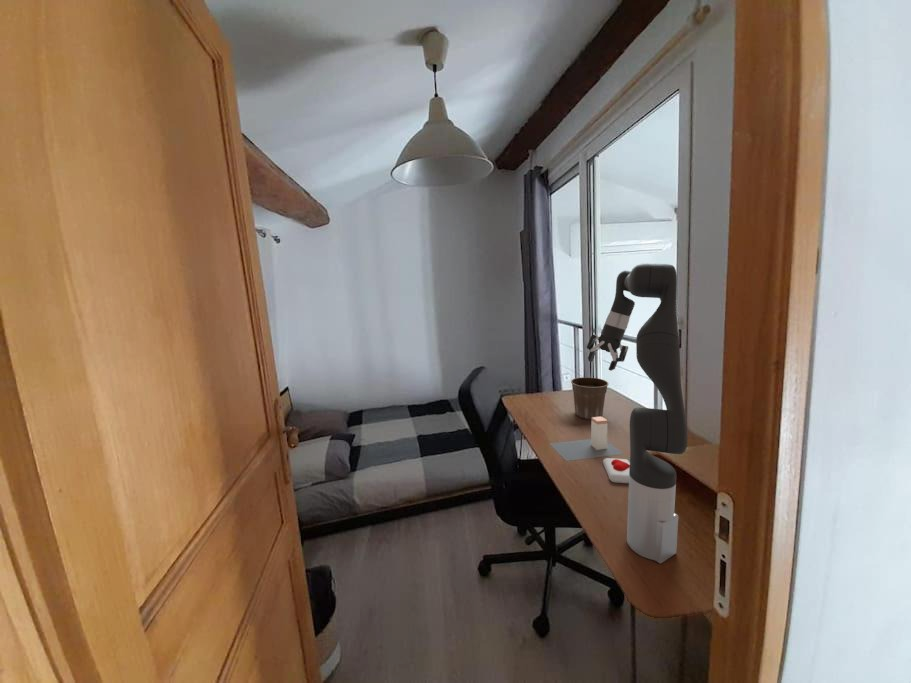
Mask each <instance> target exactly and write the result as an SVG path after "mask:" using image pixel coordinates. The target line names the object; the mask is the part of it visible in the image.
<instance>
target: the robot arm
mask: <svg viewBox="0 0 911 683" xmlns="http://www.w3.org/2000/svg"><path fill="white" fill-rule="evenodd" d="M677 276H678V275H677V269H676V267H675V266H674V265H672V264H668V263H639V264H636V265H635V266H634V267H633V268H632V269H631V271H630V270H626V269H624V270H622V271H620V272H619V274H618V275H617V277H616V283H615V295H614V299H613V300H614V301H613V303H612V305H611V308H610V311H609V313H608V314H607V317H606V319H605V321H604V322H605V323H604V325H603V328H602V330H601V333H600V336H598V335H597V334H591V336H590V338H589V341H588V343H587V345H586V349H587V350H589V354H588V357H587V360H588V362H590V363H592V362H593V361H594V359H595V356H596V353H597V351H599V350H602V351H606V353H610V356H611V357H612V360H611V362H610V365H609V367H608V370H609V371H613V370H616V367H617V364H618V363H619V362H621V363H623V362H625V359H626V356H627V353H628V350H629V346H628V345H622V340H623V338H624V335H625V333H626V330H627V328H628V326H629V322H630V319H631V315H632V313H633V310H634V307H635V303H636V302H635V301H634V300H633V299H631V298H628V297H627V296H625V294H624V291H625V292H628V293H630V294H631V295H633V296H634V297H638V298H649V299H650V298H652V299H657V298H658V299H659V301H660V304H659V305H658V307H657V308H656V309H655V311H654V312H653V314H652V315H651V316H650V317H649V318H648V319H647V320H646V321H645V322H644V323H643V325H642V326H641V327H640V328H639V331H638V332H637V334H636V339H635V340H636V342H635V344H636V345H635V346H636V347H635V348H636V350H635V351H636V352H635V353H636V360H637V363H638V365H639V366H640V369H642V371H643V372H644V373H645V375H646V376H647V377H648V378H649V380H650V381H651V382H652V383H653V385H655V387H656V389H657V390H658V391H659V393H660V395H661V397H662V399H663V402H664V405H665V407H666V409H661V408H651V407H635V408H633V409H632V411H631V412H630V417H629V447H630V448H629V449H630V450H629V452H630V454H629V455H630V456H629V462H630V469H629V483H628V494H627V495H628V496H627V497H628V498H627V499H628V500H627V520H626V521H627V523H626V524H627V528H626V529H627V530H626V542H627V545H628V546H629V547H630V549H631V550H632V551H633V552H634V553H636V554H637V555H639V556H640V557H642V558H645V559H647V560H651V561H655V562H657V563H659V564H663V563H664V562H666V561H667V560H668V559H670V558H671V557H673V556H674V555H675V554H677V547H678V546H677V545H678V529H679V515H678V514H677V513H675V506H676V504H675V502H676V487H677V471H676V469H675V468H674V467H673V466H672V465H671V464H670V463H668V462H667V461H665V460H664V459H661V458H659V457H657V456H655V455H654V454H651V453H650V452H656V453H666V454H673V455H682V454H684V453H685V452H686V450H687V446H688V436H689V435H688V426H687V420H686V419H687V418H686V411H685V404H684V398H683V397H684V396H683V388H682V381H681V377H682V376H681V352H680V351H681V349H680V348H681V347H680V339H679V338H680V337H679V329H678V328H679V326H678V319H677V318H678V317H677V293H678V292H677V291H678V290H677V289H678V277H677ZM597 341H598V344H596V345H595V343H596V342H597ZM618 349H619V351H620V353H618Z"/></svg>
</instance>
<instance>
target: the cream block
mask: <svg viewBox="0 0 911 683" xmlns="http://www.w3.org/2000/svg"><path fill="white" fill-rule="evenodd" d="M590 420H591V427H590V428H591V429H590V432H591V433H590V435H591V436H590V439H591V446H593V447H594V448H595V449H596V450H600V449H607V442H608V422H609V421H608V419H606V418H605V417H603V416H601V417H592V418H591V419H590Z"/></svg>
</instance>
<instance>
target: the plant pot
mask: <svg viewBox="0 0 911 683" xmlns="http://www.w3.org/2000/svg"><path fill="white" fill-rule="evenodd" d="M570 382H571V387H572V392H573V401H574V413H575V415H576V416H578V417H579V418H582V419H584V418H585V420H591V418H592V417H601V416H602V417H603V416H604V407H605V406H604V405H605V400H606V399H605V398H606V393H607V389H608V386H609V382H608V381H607V380H605V379H603V378H602V379H601V378H599V377H589V376H588V377H575V378H572V379H571V380H570Z"/></svg>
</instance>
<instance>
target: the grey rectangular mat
mask: <svg viewBox="0 0 911 683" xmlns="http://www.w3.org/2000/svg"><path fill="white" fill-rule="evenodd" d="M549 445H550V446H551V447H552V448H553V450H555V451H556V452H557V454H558V455H560V457H561V458H562V459H563V460H564V461H566V462H570V461H577V460H578V461H579V460H586V459H596V458H603V457H604V458H605V457H611V456H618V455H619V456H620V455H625V453H624V452H623V451H621V450H620V449H619V448H617V447H615V445H613V444H611V443H610V442H609V441H607V449H600V450H596V449H595V448H594V447H593V446H591V438H585V439H577V440H570V441H568V440H567V441H562V442H559V441H557V442H552V443H551V442H550V443H549Z"/></svg>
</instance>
